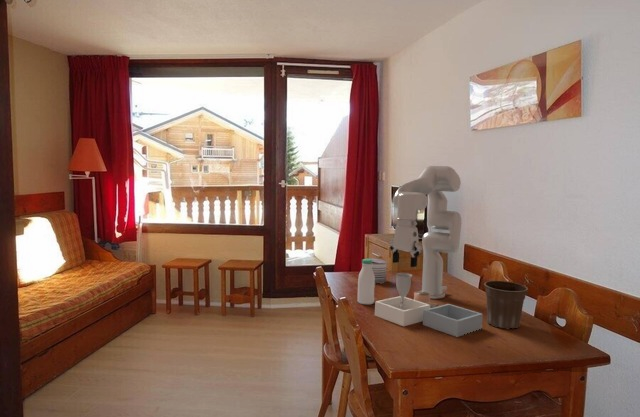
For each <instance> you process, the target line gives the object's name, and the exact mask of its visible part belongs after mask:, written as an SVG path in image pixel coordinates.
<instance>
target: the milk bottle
mask: <svg viewBox="0 0 640 417" xmlns="http://www.w3.org/2000/svg"><path fill="white" fill-rule="evenodd" d="M371 259H372V258H363V259H362V260H361V266H362V267H361V270H360V272H359V274H358V277H357V278H358V281H357V303H358V304H361V305H372V304H375V292H376V290H375V289H376V287H375V286H376V283H375V276H374V273H373V270H372V260H371Z"/></svg>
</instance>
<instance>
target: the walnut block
mask: <svg viewBox="0 0 640 417" xmlns="http://www.w3.org/2000/svg"><path fill="white" fill-rule="evenodd" d="M426 304H429V305H430V308H434V307H438V306H439V303H435V302H431V301H430V302H426Z"/></svg>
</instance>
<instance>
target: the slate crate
mask: <svg viewBox="0 0 640 417" xmlns="http://www.w3.org/2000/svg"><path fill="white" fill-rule="evenodd" d="M483 314H484V313H481V312H477V311H476V310H471V309H468V308H465V307H461V306H459V305H458V306H457V305H454V304H452V303H451V304H450V303H446V304H443V305H438V307H434V308H430V309H426V310H424V311H423V321H422V326H425V327H427V328H430V329H433V330H436V331H439V332H441V333H445V334H448V335H449V336H453V337H456V338H458V337H459V338H460V337H461V336H465V335H467V333H468V334H470V332H471V333H473V331H474V332H476V330H477V331H479V329H480V330H482V329H483ZM481 328H482V329H481ZM464 334H465V335H464Z"/></svg>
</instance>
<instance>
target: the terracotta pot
mask: <svg viewBox="0 0 640 417" xmlns="http://www.w3.org/2000/svg"><path fill="white" fill-rule="evenodd" d="M413 300H416V301H419V302H423V303H426V302H430V303H431V298H430V293H427V292H419V291H415V292H413Z"/></svg>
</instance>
